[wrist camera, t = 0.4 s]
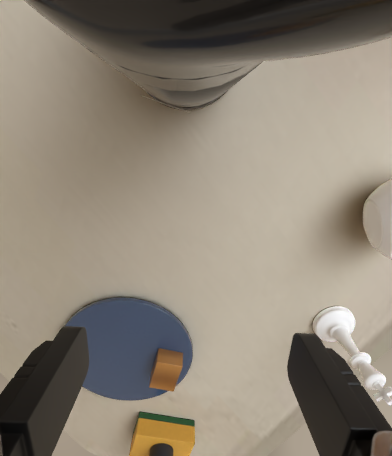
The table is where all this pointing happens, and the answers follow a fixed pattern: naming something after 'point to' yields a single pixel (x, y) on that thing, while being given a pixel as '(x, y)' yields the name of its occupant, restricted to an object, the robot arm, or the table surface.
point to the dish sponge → (162, 436)
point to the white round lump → (379, 218)
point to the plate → (129, 345)
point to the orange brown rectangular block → (166, 369)
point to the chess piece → (350, 347)
